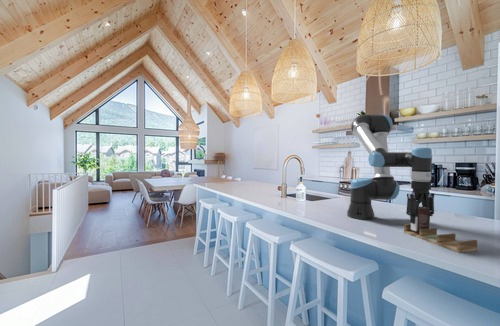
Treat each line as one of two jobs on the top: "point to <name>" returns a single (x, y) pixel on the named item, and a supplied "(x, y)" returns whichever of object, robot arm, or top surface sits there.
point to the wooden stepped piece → (443, 239)
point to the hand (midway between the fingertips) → (419, 229)
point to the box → (422, 218)
